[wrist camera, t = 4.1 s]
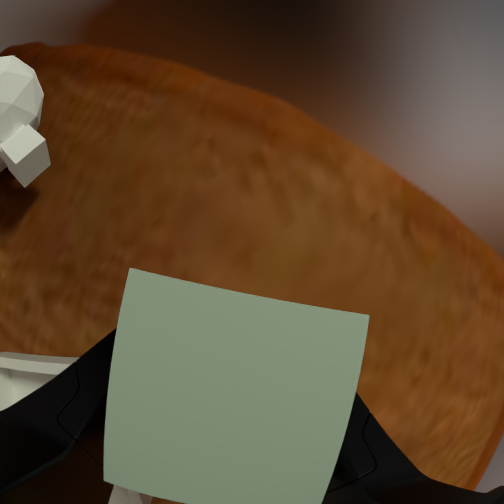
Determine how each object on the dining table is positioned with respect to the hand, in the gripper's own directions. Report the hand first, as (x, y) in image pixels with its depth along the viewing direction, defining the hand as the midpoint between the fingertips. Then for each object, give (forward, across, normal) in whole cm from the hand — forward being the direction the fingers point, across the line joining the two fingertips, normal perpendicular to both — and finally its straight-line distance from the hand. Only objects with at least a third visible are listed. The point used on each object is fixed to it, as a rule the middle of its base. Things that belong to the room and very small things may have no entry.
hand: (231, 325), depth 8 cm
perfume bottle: (+10, +18, 0) cm, 21 cm away
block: (+4, 0, +6) cm, 7 cm away
